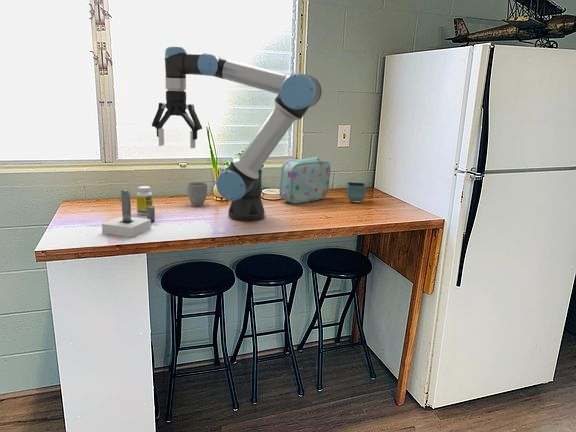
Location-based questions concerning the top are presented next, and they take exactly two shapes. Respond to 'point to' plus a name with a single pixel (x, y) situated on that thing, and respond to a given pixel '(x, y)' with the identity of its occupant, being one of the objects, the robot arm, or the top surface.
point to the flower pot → (356, 191)
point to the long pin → (126, 206)
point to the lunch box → (304, 180)
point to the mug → (197, 193)
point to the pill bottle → (143, 199)
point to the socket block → (126, 227)
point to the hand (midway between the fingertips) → (177, 146)
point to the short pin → (151, 213)
